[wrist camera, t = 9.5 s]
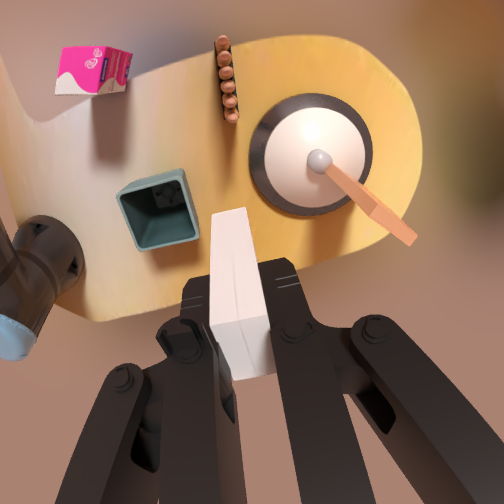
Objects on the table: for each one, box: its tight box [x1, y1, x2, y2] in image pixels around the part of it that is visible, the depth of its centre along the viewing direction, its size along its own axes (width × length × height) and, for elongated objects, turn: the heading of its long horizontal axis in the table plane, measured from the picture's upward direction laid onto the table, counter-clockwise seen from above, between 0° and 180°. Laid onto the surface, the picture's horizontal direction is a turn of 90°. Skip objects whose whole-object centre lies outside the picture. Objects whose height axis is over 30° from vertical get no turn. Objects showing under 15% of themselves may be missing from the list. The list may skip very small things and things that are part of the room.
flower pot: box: [116, 169, 199, 252], centre depth 39 cm, size 9×9×9 cm
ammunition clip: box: [214, 35, 239, 123], centre depth 30 cm, size 11×2×12 cm, turn 7°
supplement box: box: [55, 46, 133, 95], centre depth 27 cm, size 6×6×12 cm
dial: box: [264, 107, 418, 247], centre depth 34 cm, size 16×15×17 cm
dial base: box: [249, 93, 373, 216], centre depth 41 cm, size 19×19×4 cm
